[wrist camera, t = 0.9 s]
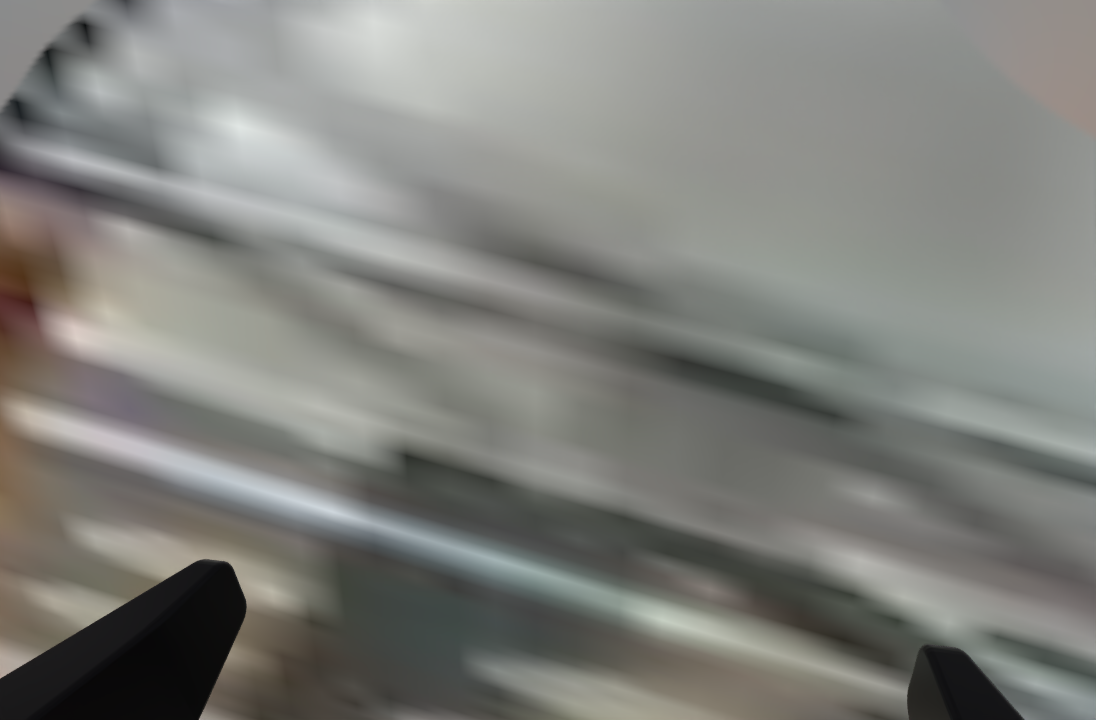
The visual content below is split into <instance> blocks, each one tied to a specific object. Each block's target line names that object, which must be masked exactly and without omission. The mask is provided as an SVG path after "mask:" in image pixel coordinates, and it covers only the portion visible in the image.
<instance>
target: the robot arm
mask: <svg viewBox="0 0 1096 720" xmlns="http://www.w3.org/2000/svg"><path fill="white" fill-rule="evenodd" d="M246 607H247V606H246V599H245V597H244V594H243V592H242V589H241V587H240V584H239V582H238V579H237V577H236V574H235V572H234V569H233V567H232V566H231V565H230V564H229V563H228V562H225V561H217V560H209V559H203V560H199V561H196V562H195V563H193V564H191V565H189V566H188V567H186V568H184V569H183V570H181V571H179V572H178V573H176V574H174V575H173V576H171V577H169V578H168V579H166V580H164V581H163V582H161V583H159V584H158V585H156V586H154V587H153V588H151V589H149V590H148V591H146V592H144V593H143V594H141V595H139V596H138V597H136V598H134V599H133V600H131V601H129V602H128V603H126V604H124V605H123V606H121V607H119V608H118V609H116V610H114V611H112V612H111V613H109V614H107V615H106V616H104V617H102V618H101V619H99V620H97V621H96V622H94V623H92V624H91V625H89V626H87V627H86V628H84V629H82V630H81V631H79V632H77V633H76V634H74V635H72V636H71V637H69V638H67V639H66V640H64V641H62V642H61V643H59V644H57V645H56V646H54V647H52V648H51V649H49V650H47V651H46V652H44V653H42V654H41V655H39V656H37V657H36V658H34V659H32V660H31V661H29V662H27V663H26V664H24V665H22V666H21V667H19V668H17V669H16V670H14V671H12V672H11V673H9V674H7V675H6V676H4V677H2V678H1V679H0V720H199V718H200V716H201V714H202V712H203V710H204V708H205V706H206V703H207V701H208V699H209V697H210V694H211V692H212V690H213V688H214V685H215V683H216V681H217V679H218V677H219V674H220V672H221V670H222V668H223V665H224V663H225V661H226V659H227V656H228V654H229V652H230V650H231V648H232V645H233V643H234V641H235V639H236V636H237V634H238V632H239V630H240V627H241V625H242V623H243V621H244V618H245V614H246ZM907 705H908V715H909V720H1024V719H1023V717H1022V716H1021V715H1020V714H1019V713H1018V712H1017V711H1016V709H1015V708H1014V707H1013V706H1012V705H1011V704H1010V703H1009V701H1008V700H1007V699H1006V698H1005V697H1004V696H1003V695H1002V693H1001V692H1000V691H999V690H998V689H997V688H996V687H995V685H994V684H993V683H992V682H991V681H990V680H989V679H988V677H987V676H986V675H985V674H984V673H983V672H982V670H981V669H980V668H979V667H978V666H977V665H976V664H975V662H974V661H973V660H972V659H971V658H970V657H969V656H968V655H967V654H966V653H965V652H964V651H962V650H961V649H959V648H955V647H947V646H938V645H930V644H927V645H923V646H922V647H921V648H920V650H919V652H918V655H917V659H916V662H915V666H914V669H913V673H912V677H911V680H910V684H909V687H908V694H907Z"/></svg>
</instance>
